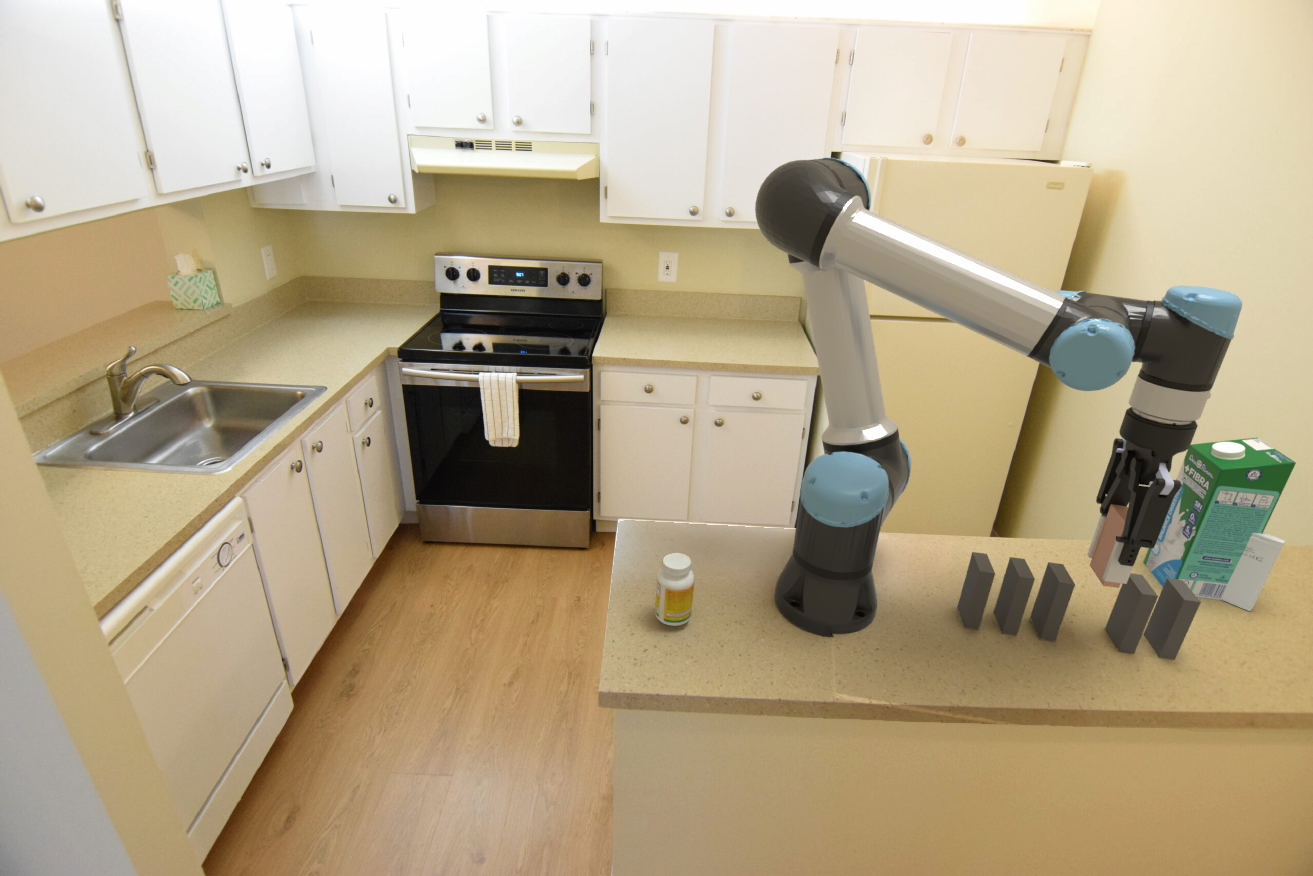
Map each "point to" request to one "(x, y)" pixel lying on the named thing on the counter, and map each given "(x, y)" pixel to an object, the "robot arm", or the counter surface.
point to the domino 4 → (1108, 541)
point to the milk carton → (1217, 512)
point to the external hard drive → (1252, 570)
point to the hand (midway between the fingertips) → (1106, 568)
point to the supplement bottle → (674, 590)
